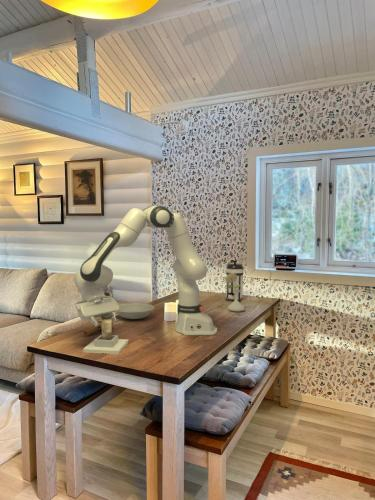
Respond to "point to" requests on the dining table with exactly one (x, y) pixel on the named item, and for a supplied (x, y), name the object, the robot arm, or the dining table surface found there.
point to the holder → (106, 345)
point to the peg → (106, 326)
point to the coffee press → (238, 271)
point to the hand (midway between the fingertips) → (106, 323)
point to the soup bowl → (135, 310)
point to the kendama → (93, 329)
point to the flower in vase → (235, 305)
